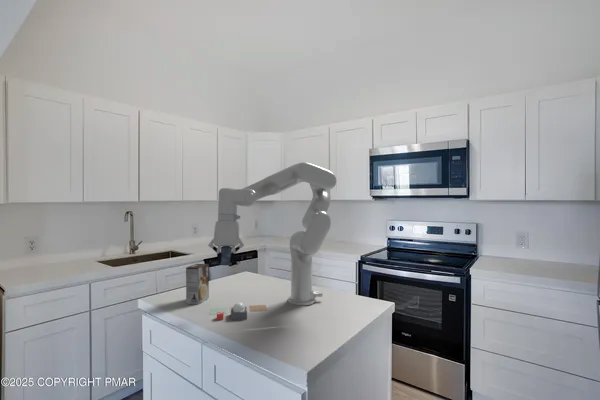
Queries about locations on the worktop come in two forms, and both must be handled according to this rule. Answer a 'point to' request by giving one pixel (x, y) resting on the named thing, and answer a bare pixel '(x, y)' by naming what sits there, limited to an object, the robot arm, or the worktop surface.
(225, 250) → the pawn
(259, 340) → the worktop surface
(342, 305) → the worktop surface
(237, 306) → the popper dome
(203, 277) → the coffee box
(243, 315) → the game board
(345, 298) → the worktop surface
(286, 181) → the robot arm
